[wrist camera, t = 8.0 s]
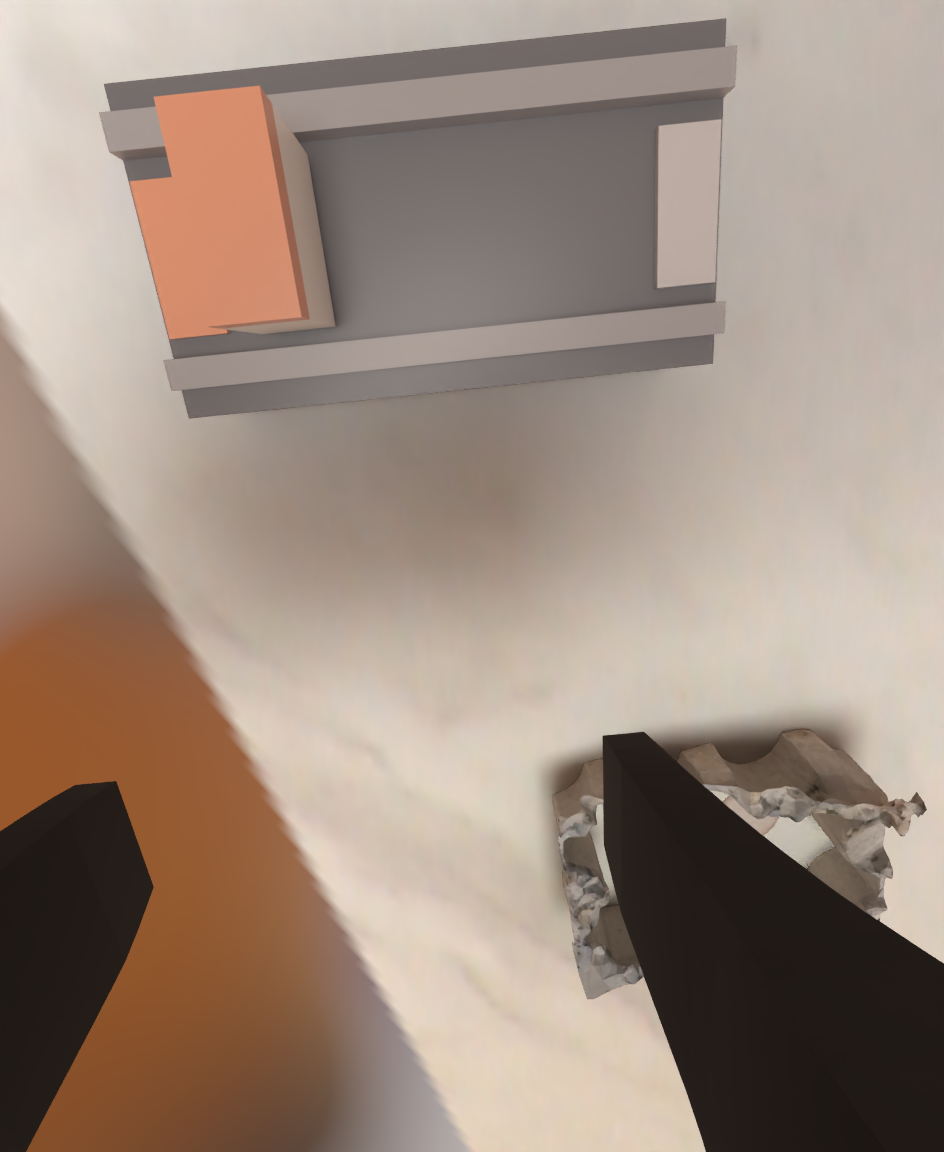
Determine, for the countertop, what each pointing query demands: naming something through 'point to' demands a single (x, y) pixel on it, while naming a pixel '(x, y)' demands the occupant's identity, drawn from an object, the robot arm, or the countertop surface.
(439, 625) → the countertop surface
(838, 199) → the countertop surface
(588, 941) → the egg carton
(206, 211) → the breaker handle
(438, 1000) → the countertop surface
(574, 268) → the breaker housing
